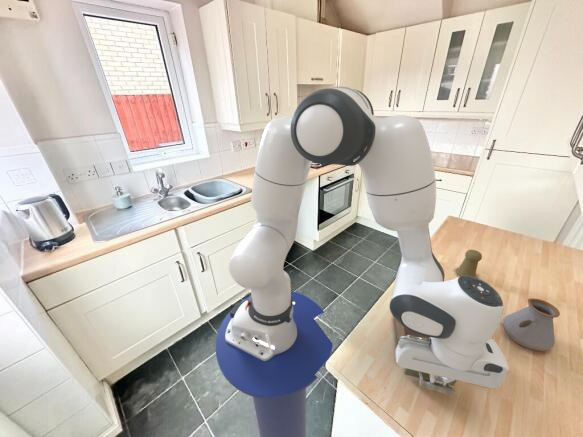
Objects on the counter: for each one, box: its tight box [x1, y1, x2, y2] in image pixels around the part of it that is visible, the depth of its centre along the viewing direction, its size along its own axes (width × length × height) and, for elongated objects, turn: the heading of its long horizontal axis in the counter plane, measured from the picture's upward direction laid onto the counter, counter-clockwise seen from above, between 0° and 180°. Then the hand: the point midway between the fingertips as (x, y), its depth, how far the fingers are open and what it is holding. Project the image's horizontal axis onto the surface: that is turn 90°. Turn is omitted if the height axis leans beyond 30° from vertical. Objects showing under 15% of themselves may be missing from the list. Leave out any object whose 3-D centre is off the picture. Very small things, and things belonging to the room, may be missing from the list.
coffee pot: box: [502, 297, 561, 352], centre depth 67 cm, size 21×12×15 cm, turn 119°
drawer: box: [403, 368, 457, 396], centre depth 64 cm, size 18×11×7 cm, turn 164°
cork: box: [456, 249, 483, 277], centre depth 94 cm, size 6×6×11 cm
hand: (437, 381), depth 57 cm, fingers closed, pressing on drawer
